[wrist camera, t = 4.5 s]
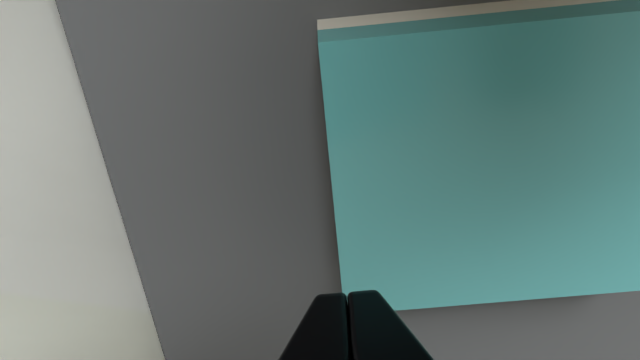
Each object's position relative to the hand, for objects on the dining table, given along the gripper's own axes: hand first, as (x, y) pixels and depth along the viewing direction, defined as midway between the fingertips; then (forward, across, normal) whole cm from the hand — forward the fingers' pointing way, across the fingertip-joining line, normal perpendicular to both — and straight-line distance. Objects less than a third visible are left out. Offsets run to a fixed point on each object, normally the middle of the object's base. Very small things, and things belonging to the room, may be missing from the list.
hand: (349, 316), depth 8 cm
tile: (+4, 0, 0) cm, 4 cm away
